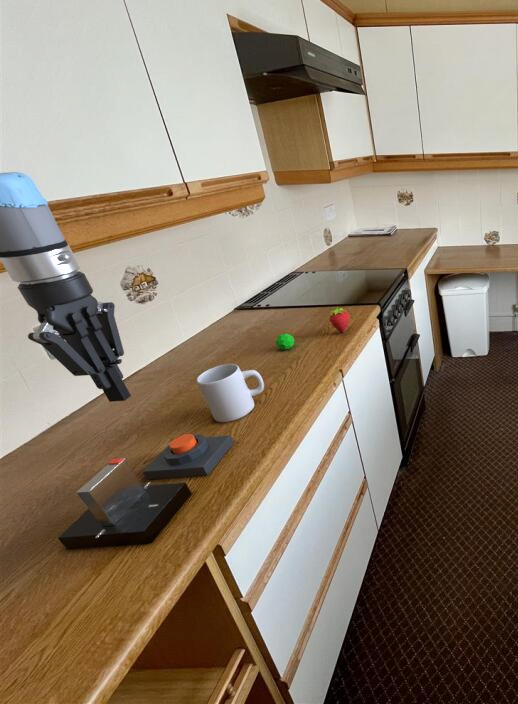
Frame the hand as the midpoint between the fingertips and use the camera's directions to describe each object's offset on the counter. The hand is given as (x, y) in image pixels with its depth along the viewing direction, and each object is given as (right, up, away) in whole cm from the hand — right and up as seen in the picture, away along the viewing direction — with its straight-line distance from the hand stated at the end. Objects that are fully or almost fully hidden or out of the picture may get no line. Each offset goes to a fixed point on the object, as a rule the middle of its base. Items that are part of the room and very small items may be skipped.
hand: (120, 398), depth 74 cm
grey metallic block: (+5, -18, -4) cm, 19 cm away
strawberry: (+16, +10, +60) cm, 63 cm away
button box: (+5, -15, +10) cm, 19 cm away
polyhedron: (+2, +5, +52) cm, 53 cm away
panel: (+5, -21, -3) cm, 22 cm away
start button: (+5, -12, +9) cm, 15 cm away
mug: (+6, -7, +25) cm, 27 cm away
